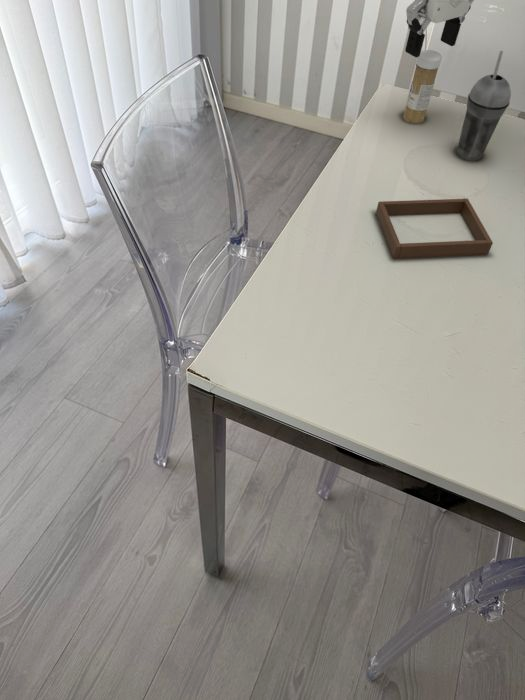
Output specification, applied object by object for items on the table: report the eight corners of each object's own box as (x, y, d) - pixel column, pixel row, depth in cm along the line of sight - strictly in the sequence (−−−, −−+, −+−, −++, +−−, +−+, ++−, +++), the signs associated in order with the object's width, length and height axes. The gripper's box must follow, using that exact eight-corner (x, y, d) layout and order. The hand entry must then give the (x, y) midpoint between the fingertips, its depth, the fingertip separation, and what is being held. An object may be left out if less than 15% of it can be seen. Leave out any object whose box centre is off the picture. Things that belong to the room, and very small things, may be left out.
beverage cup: (495, 161, 109) (538, 53, 94) (469, 172, 107) (509, 63, 91) (466, 143, 113) (503, 37, 98) (441, 153, 110) (475, 46, 95)
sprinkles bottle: (399, 116, 119) (414, 49, 109) (419, 115, 120) (437, 48, 109) (406, 127, 116) (423, 59, 106) (427, 126, 117) (446, 58, 106)
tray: (462, 213, 98) (467, 198, 96) (486, 257, 91) (493, 242, 89) (374, 216, 97) (378, 201, 94) (392, 262, 89) (396, 246, 87)
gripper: (440, -45, 88) (412, 67, 102) (510, -60, 96) (475, 46, 109) (406, -59, 92) (383, 51, 105) (475, -72, 99) (445, 32, 112)
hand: (429, 48), depth 107 cm, fingers open, 9 cm apart
